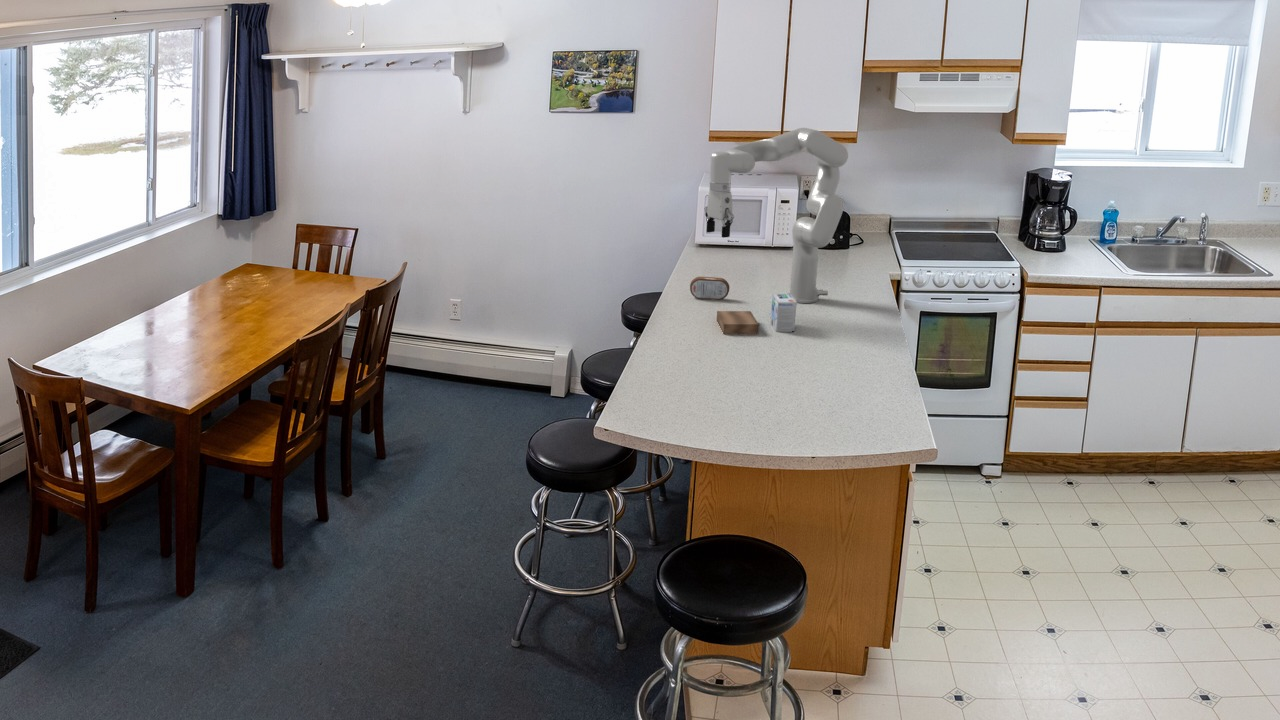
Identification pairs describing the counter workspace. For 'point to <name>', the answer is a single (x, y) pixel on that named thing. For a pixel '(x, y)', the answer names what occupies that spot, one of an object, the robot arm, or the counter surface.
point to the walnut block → (737, 322)
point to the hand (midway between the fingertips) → (717, 234)
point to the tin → (709, 288)
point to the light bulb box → (783, 312)
